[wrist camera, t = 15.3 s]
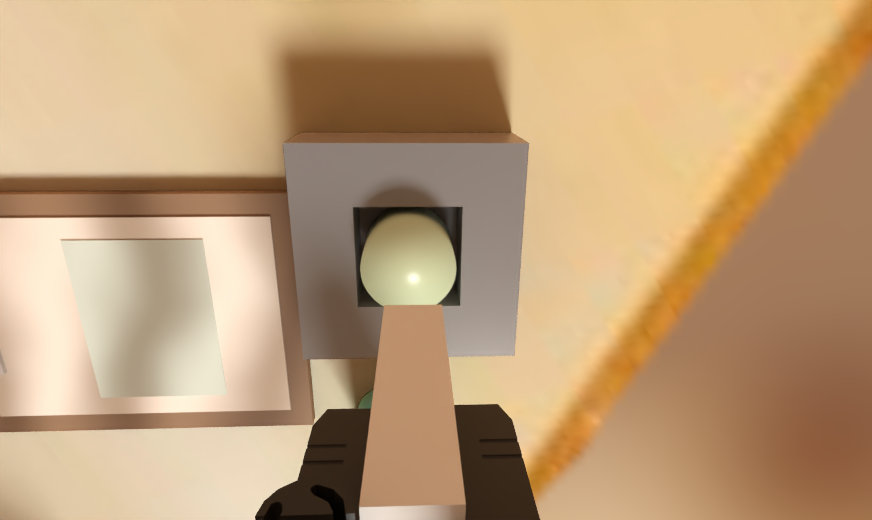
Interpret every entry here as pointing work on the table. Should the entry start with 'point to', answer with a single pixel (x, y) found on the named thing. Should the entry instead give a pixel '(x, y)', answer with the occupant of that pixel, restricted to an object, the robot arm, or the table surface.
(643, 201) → the table surface
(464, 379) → the table surface
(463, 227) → the button console
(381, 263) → the button
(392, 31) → the table surface
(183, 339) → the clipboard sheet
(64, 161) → the table surface
